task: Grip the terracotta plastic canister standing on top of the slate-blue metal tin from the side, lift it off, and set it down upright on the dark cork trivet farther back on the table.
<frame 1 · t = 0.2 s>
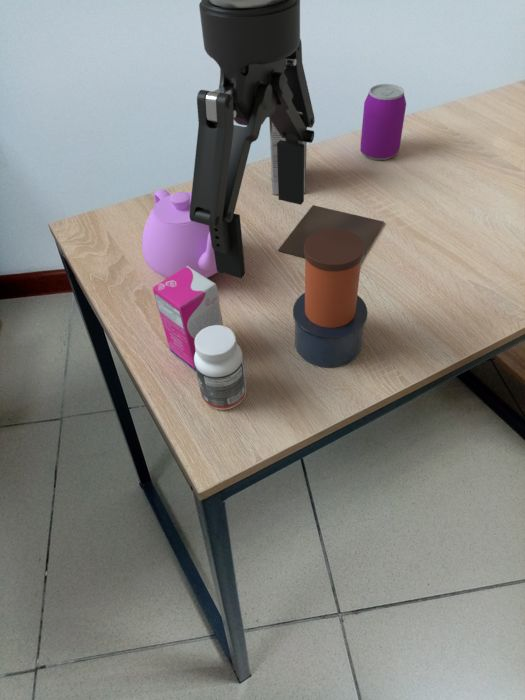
hand: (263, 234, 55), 20 cm above the table, tool pointing down, fingers open, 13 cm apart
canister: (330, 310, 67), point 6 cm above the table, touching tin
beverage can: (379, 153, 106), on the table
coffee box: (288, 183, 100), on the table
pill bottle: (224, 394, 67), on the table
supplement box: (198, 350, 72), on the table
tin: (328, 342, 72), on the table, touching canister
teapot: (195, 269, 84), on the table
trivet: (332, 237, 88), on the table
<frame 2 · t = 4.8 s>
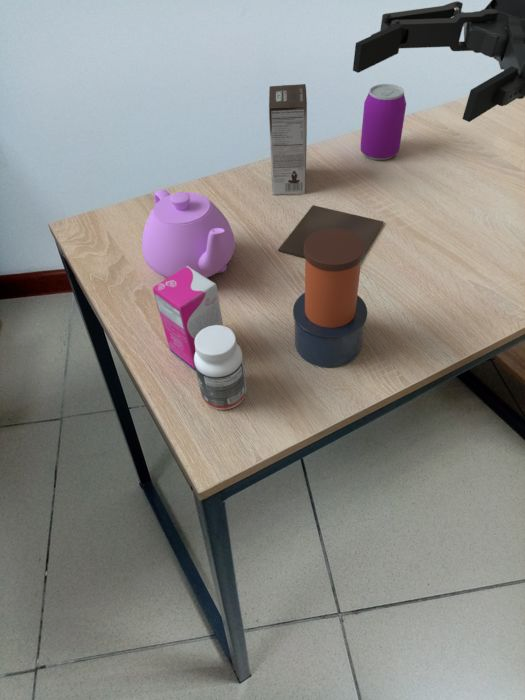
hand: (409, 80, 51), 32 cm above the table, tool horizontal, fingers open, 13 cm apart
nothing on the table moved.
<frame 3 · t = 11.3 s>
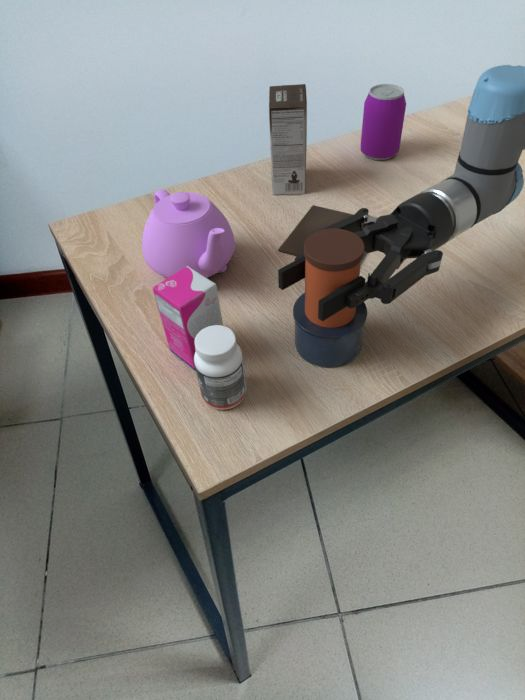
hand: (300, 295, 61), 12 cm above the table, tool horizontal, fingers closed on canister, 6 cm apart
canister: (330, 310, 67), point 6 cm above the table, touching gripper, tin
everything else where it was.
when the fingers open (6 cm above the table, at t = 20.2 s): canister stays where it is, resting on trivet.
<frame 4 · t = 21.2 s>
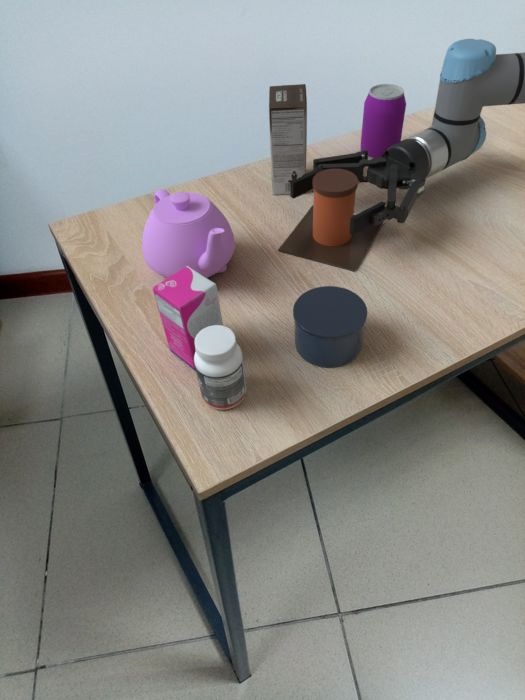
hand: (320, 207, 81), 7 cm above the table, tool horizontal, fingers open, 13 cm apart
canister: (332, 234, 87), resting on trivet
tin: (328, 342, 72), on the table
everything else where it was.
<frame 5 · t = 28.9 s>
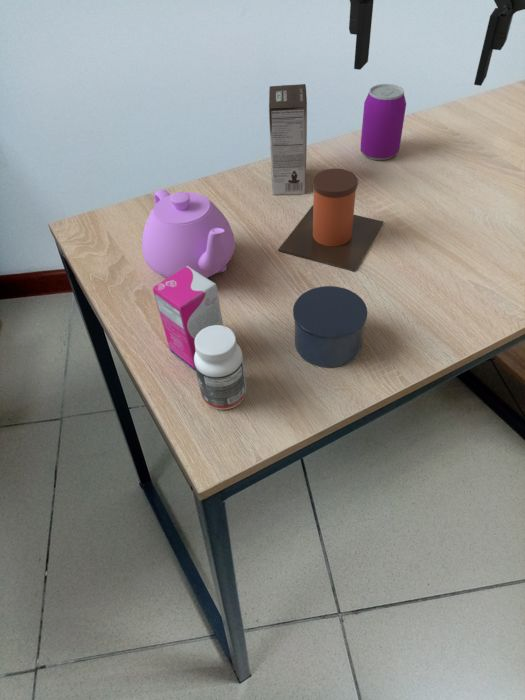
hand: (418, 73, 60), 29 cm above the table, tool pointing down, fingers open, 13 cm apart
nothing on the table moved.
at the end: canister inside the target area on the trivet (0.0 cm from its centre), point 0.4 cm above the trivet's base; canister tilted 0°; tin moved 0.0 cm from its start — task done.
